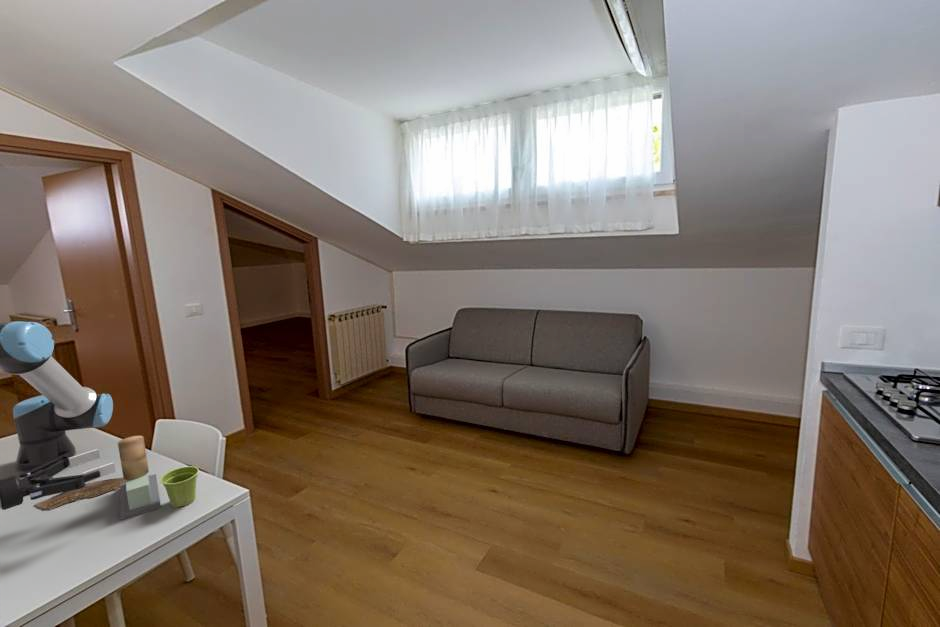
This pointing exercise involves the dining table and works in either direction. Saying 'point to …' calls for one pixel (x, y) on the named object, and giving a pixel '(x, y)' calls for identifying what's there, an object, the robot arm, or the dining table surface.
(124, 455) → the tan wooden cylinder
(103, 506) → the dining table surface
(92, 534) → the dining table surface
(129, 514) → the block
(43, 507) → the wooden fragment
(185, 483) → the plant pot
